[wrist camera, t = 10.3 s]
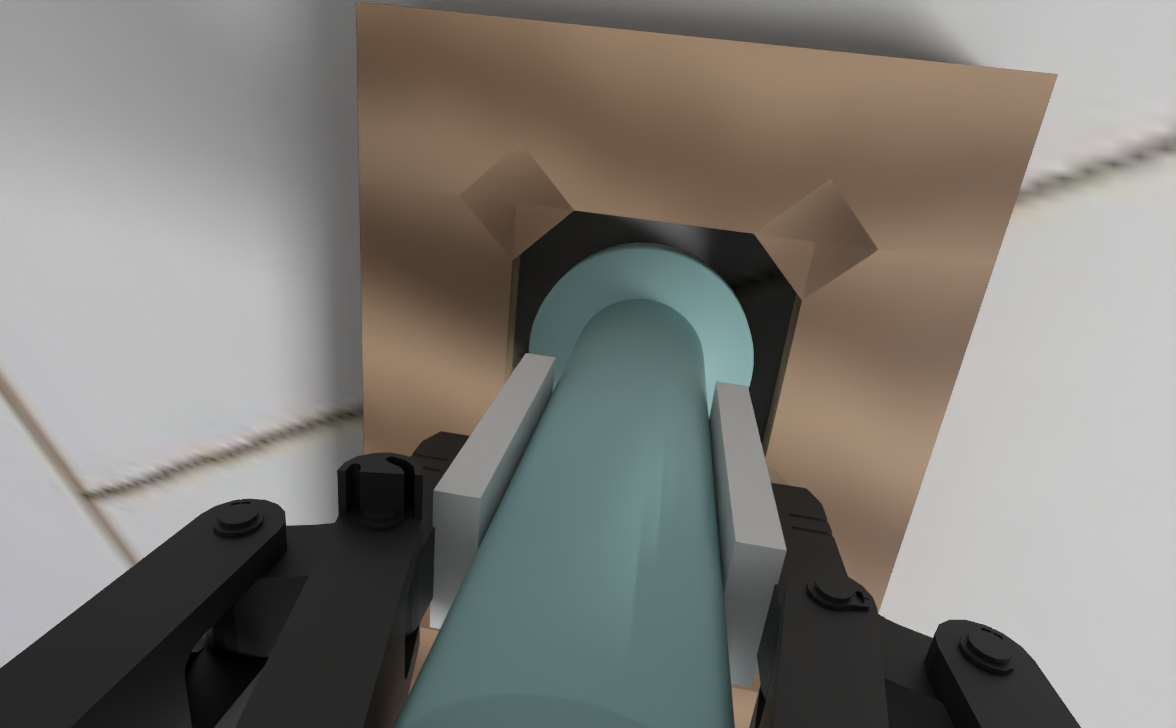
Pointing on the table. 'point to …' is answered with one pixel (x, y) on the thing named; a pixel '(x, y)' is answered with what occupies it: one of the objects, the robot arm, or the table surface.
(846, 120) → the keyhole board
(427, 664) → the peg
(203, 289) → the table surface
